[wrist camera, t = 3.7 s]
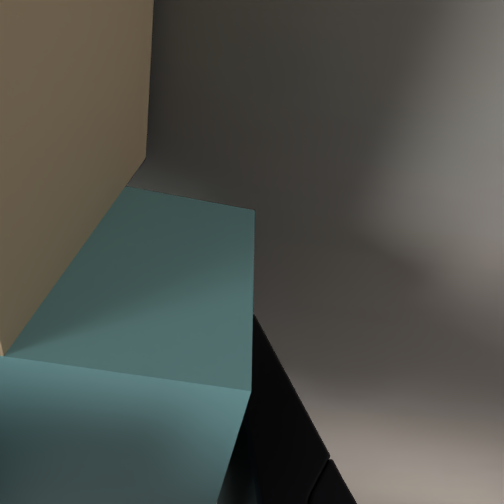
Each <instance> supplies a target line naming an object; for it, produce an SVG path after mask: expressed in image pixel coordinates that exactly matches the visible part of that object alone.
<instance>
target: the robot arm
mask: <svg viewBox="0 0 504 504" xmlns="http://www.w3.org/2000/svg"><path fill="white" fill-rule="evenodd" d="M329 458H330V454H329V452H328V450H327V448H326V447H325V445H324V443H323V441H322V439H321V437H320V435H319V434H318V432H317V430H316V428H315V426H314V424H313V422H312V421H311V419H310V417H309V415H308V413H307V411H306V409H305V407H304V406H303V404H302V402H301V400H300V398H299V396H298V394H297V393H296V391H295V389H294V387H293V385H292V383H291V381H290V380H289V378H288V376H287V374H286V372H285V370H284V368H283V367H282V365H281V363H280V361H279V359H278V357H277V355H276V353H275V352H274V350H273V348H272V346H271V344H270V342H269V340H268V339H267V337H266V335H265V333H264V331H263V329H262V327H261V326H260V324H259V322H258V320H257V318H256V316H255V315H254V314H253V331H252V381H251V394H250V397H249V400H248V403H247V407H246V410H245V413H244V416H243V419H242V423H241V426H240V429H239V432H238V435H237V439H236V442H235V445H234V448H233V451H232V455H231V458H230V461H229V464H228V468H227V471H226V474H225V477H224V480H223V484H222V487H221V490H220V493H219V496H218V500H217V504H357V503H356V501H355V499H354V498H353V496H352V494H351V492H350V491H349V489H348V487H347V485H346V484H345V482H344V480H343V478H342V476H341V474H340V472H339V471H338V469H337V467H336V465H335V463H334V461H333V460H332V459H330V460H329Z"/></svg>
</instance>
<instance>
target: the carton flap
mask: <svg viewBox="0 0 504 504" xmlns="http://www.w3.org/2000/svg"><path fill="white" fill-rule="evenodd" d="M153 5H154V0H0V504H216V503H217V500H218V496H219V493H220V490H221V487H222V484H223V480H224V477H225V474H226V471H227V468H228V464H229V461H230V458H231V455H232V451H233V448H234V445H235V442H236V439H237V435H238V432H239V429H240V426H241V423H242V419H243V416H244V413H245V410H246V407H247V403H248V400H249V397H250V394H251V381H252V331H253V282H254V233H255V210H251V209H245V208H240V207H235V206H229V205H224V204H219V203H213V202H208V201H202V200H197V199H192V198H186V197H181V196H176V195H170V194H165V193H160V192H154V191H149V190H143V189H138V188H133V187H127V186H126V185H127V183H128V182H129V181H130V179H131V178H132V176H133V175H134V174H135V172H136V171H137V169H138V168H139V167H140V165H141V164H142V162H143V161H144V160H145V158H146V144H147V124H148V104H149V84H150V65H151V45H152V25H153Z"/></svg>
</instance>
